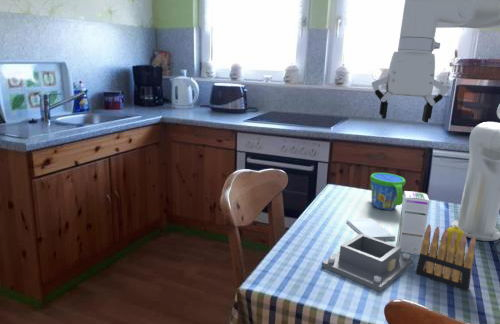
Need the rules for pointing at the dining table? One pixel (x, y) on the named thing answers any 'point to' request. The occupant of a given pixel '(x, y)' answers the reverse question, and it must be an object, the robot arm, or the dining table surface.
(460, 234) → the lemon
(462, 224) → the robot arm
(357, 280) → the frame
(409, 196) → the syrup box
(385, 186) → the snack cup
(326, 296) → the dining table surface
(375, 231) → the hard drive
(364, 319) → the dining table surface
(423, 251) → the ammunition clip
